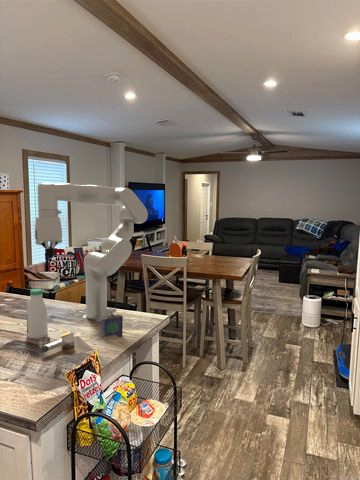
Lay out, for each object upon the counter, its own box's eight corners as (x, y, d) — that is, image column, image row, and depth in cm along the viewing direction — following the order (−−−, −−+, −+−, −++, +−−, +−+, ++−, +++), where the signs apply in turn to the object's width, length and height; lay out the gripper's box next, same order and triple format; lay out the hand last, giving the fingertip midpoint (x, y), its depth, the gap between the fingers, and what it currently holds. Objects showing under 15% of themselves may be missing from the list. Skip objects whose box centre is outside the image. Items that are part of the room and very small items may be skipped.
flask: (101, 341, 144) (101, 315, 142) (99, 338, 146) (99, 313, 145) (123, 336, 148) (123, 312, 147) (120, 334, 151) (121, 309, 150)
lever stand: (78, 339, 144) (78, 328, 144) (93, 353, 133) (93, 340, 132) (37, 349, 135) (36, 336, 134) (49, 364, 123) (49, 351, 122)
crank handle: (69, 342, 137) (69, 330, 137) (77, 345, 135) (77, 333, 134) (38, 354, 127) (37, 341, 126) (45, 358, 124) (45, 344, 124)
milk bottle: (51, 335, 147) (50, 288, 145) (38, 343, 140) (37, 293, 137) (36, 333, 150) (35, 286, 147) (22, 339, 143) (21, 291, 140)
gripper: (62, 212, 154) (63, 254, 156) (26, 213, 145) (28, 258, 147) (69, 213, 148) (70, 257, 151) (32, 214, 139) (33, 261, 141)
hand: (49, 257), depth 149 cm, fingers closed
